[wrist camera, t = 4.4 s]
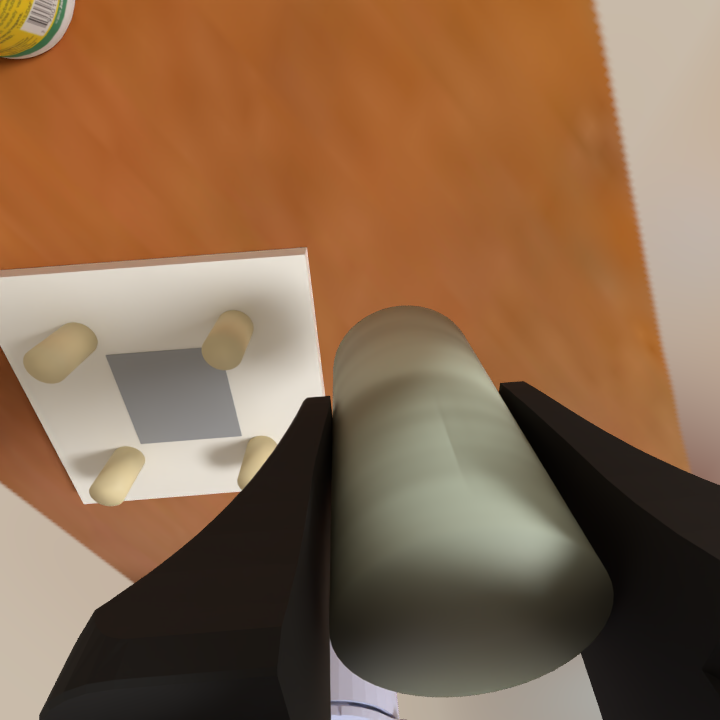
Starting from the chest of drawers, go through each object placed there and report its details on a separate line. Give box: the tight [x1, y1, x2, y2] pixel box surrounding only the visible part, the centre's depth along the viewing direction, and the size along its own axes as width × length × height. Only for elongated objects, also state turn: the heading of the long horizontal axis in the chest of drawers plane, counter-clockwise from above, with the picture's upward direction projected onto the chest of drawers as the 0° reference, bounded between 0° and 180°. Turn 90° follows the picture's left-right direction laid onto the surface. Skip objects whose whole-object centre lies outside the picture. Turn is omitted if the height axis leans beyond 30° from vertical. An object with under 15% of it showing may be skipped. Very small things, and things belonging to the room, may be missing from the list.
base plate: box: [0, 247, 325, 506], centre depth 20 cm, size 13×14×4 cm
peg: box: [329, 306, 614, 697], centre depth 10 cm, size 4×4×8 cm
